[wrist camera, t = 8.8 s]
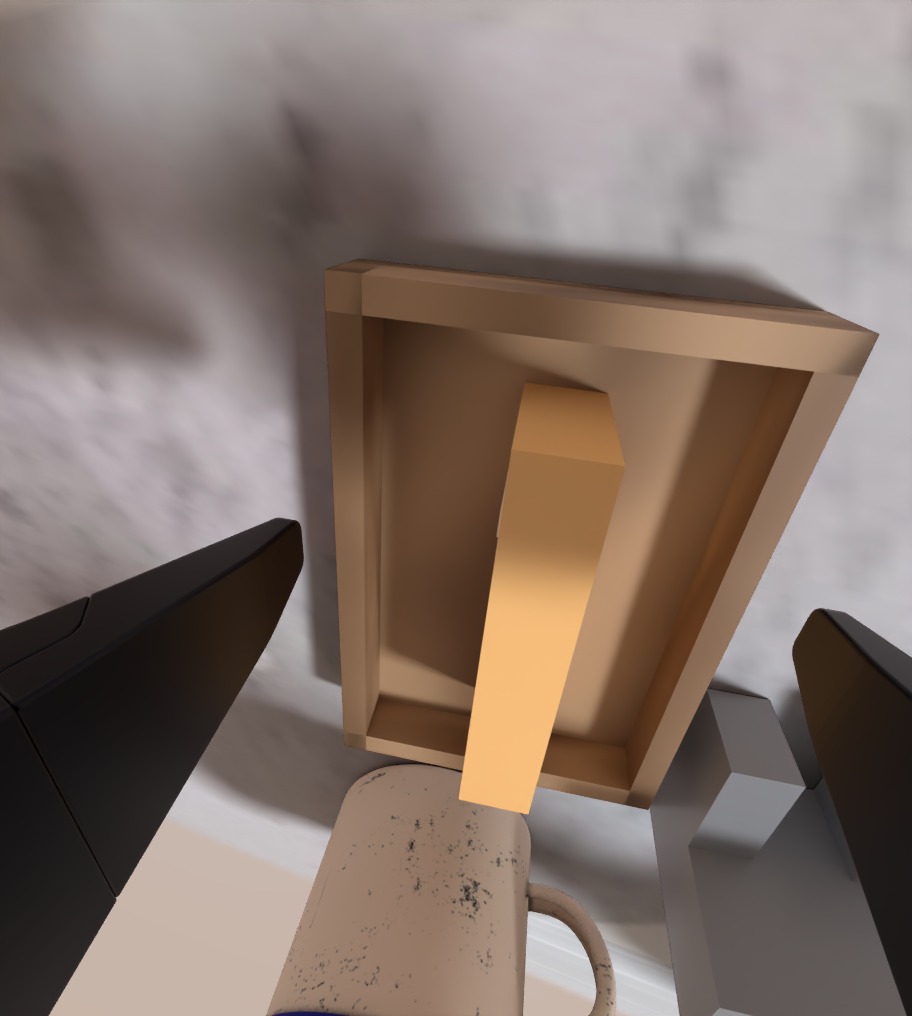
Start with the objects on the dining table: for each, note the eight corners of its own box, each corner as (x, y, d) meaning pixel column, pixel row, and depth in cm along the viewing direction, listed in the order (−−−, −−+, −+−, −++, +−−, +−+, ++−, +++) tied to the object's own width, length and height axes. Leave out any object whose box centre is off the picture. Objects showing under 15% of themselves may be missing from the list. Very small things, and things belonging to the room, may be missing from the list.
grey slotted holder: (934, 730, 17) (1168, 1064, 10) (834, 846, 20) (961, 1146, 14) (706, 688, 18) (792, 975, 11) (649, 806, 21) (688, 1075, 15)
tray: (827, 311, 12) (880, 333, 10) (639, 751, 20) (648, 809, 18) (358, 258, 13) (323, 269, 11) (363, 695, 21) (344, 745, 19)
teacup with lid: (365, 862, 27) (254, 1238, 18) (319, 748, 23) (137, 1164, 13) (604, 890, 25) (633, 1349, 15) (605, 768, 20) (645, 1303, 11)
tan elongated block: (609, 393, 13) (628, 466, 9) (535, 699, 18) (530, 815, 15) (522, 382, 13) (508, 449, 9) (476, 688, 18) (456, 799, 15)
